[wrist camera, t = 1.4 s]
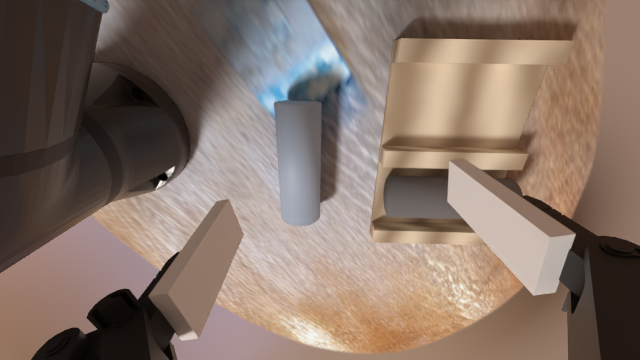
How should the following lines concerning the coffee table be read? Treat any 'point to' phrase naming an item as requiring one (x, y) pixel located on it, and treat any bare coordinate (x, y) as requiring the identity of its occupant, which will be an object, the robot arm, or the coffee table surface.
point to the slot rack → (455, 119)
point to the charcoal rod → (424, 196)
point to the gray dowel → (299, 159)
